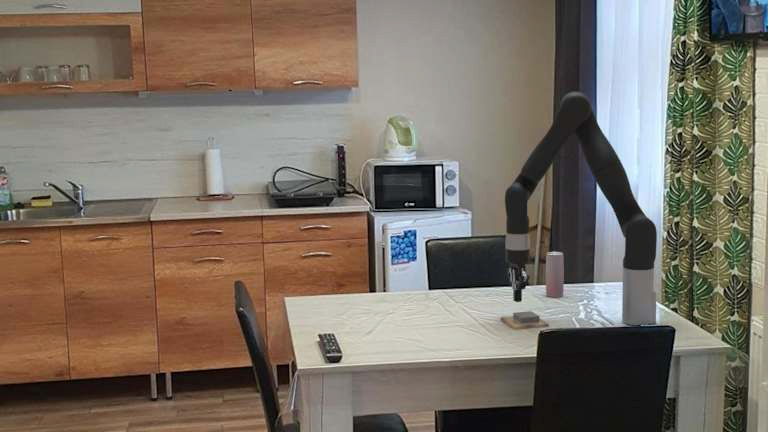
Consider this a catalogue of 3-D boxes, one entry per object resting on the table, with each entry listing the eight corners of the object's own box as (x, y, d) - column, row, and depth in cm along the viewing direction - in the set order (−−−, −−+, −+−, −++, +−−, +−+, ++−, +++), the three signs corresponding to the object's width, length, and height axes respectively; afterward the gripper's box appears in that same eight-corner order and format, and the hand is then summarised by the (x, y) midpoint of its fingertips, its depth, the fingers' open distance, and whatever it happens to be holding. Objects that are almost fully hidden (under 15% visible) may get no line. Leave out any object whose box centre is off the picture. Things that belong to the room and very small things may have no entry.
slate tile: (531, 311, 295) (539, 316, 289) (531, 318, 295) (539, 323, 289) (513, 312, 294) (521, 317, 287) (513, 320, 294) (521, 325, 288)
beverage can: (545, 293, 332) (545, 251, 330) (563, 293, 331) (563, 251, 329) (546, 297, 326) (546, 254, 324) (563, 297, 325) (564, 254, 323)
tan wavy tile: (533, 316, 301) (533, 314, 300) (548, 326, 289) (548, 323, 289) (500, 319, 298) (500, 317, 298) (514, 329, 286) (515, 326, 286)
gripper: (537, 249, 289) (537, 305, 291) (520, 242, 301) (520, 295, 304) (515, 251, 287) (514, 307, 289) (498, 244, 299) (498, 297, 302)
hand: (517, 301), depth 297 cm, fingers closed
